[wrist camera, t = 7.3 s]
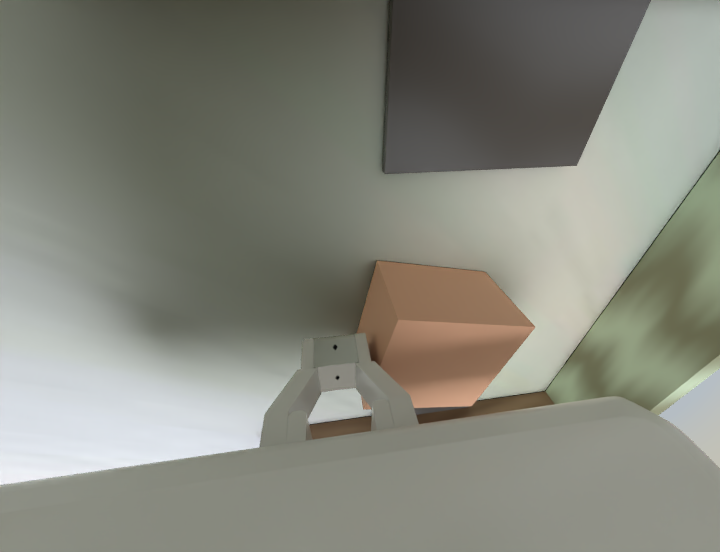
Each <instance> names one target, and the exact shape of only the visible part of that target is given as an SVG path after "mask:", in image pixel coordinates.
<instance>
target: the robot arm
mask: <svg viewBox="0 0 720 552" xmlns="http://www.w3.org/2000/svg"><path fill="white" fill-rule="evenodd" d="M349 388H356V389H357V391H358V392H359V393H360V394H361V396H362V397H363V398H364V400H365V401H366V402H367V403H368V405H369V406H370V407H371V409H372V421H371V431H369V432H362V433H355V434H348V435H342V436H335V437H328V438H321V439H314V440H312V436H311V431H310V427H309V422H308V417H309V415H310V414H311V412H312V410H313V408H314V406H315V404H316V402H317V400H318V398H319V396H320V395H321V392H326V391H332V390H339V389H349ZM0 552H720V468H719V467H718V466H717V465H716V464H715V463H714V462H713V461H712V460H711V459H710V458H709V457H708V456H707V455H706V454H705V453H704V452H703V451H702V450H701V449H700V448H699V447H698V446H697V445H696V444H695V443H694V442H693V441H692V440H691V439H690V438H689V437H688V436H687V435H685V434H684V433H683V432H682V431H681V430H680V429H678V428H677V427H676V426H675V425H673V424H672V423H670V422H669V421H667V420H665V419H663V418H662V417H660V416H658V415H656V414H654V413H652V412H651V411H649V410H647V409H645V408H643V407H641V406H639V405H637V404H635V403H633V402H631V401H629V400H627V399H625V398H622V397H617V396H610V397H602V398H595V399H588V400H581V401H575V402H568V403H561V404H554V405H547V406H540V407H534V408H527V409H520V410H513V411H506V412H499V413H493V414H486V415H479V416H472V417H465V418H458V419H451V420H445V421H438V422H431V423H424V424H419V423H418V420H417V416H416V413H415V410H414V407H413V403H412V400H411V397H410V395H409V394H408V393H407V392H406V391H405V390H404V389H403V388H402V387H401V386H400V385H399V384H398V383H397V382H396V381H395V380H394V379H393V378H392V377H391V376H390V375H388V374H387V373H386V372H385V371H384V370H383V369H382V368H381V367H380V366H379V365H378V364H377V363H376V362H375V361H371V357H370V352H369V348H368V343H367V338H366V334H365V333H358V334H348V335H339V336H333V337H320V338H309V339H303V341H302V356H301V369H300V370H297V371H296V373H295V374H294V375H293V377H292V378H291V379H290V381H289V382H288V383H287V385H286V386H285V387H284V389H283V390H282V391H281V393H280V394H279V396H278V397H277V398H276V400H275V401H274V402H273V404H272V405H271V406H270V408H269V409H268V410H267V412H266V413H265V416H264V422H263V428H262V434H261V441H260V447H259V448H253V449H246V450H239V451H232V452H225V453H218V454H212V455H205V456H198V457H191V458H184V459H177V460H170V461H163V462H157V463H150V464H143V465H136V466H129V467H122V468H115V469H108V470H101V471H95V472H88V473H81V474H74V475H67V476H60V477H53V478H46V479H39V480H32V481H25V482H18V483H11V484H4V485H0Z"/></svg>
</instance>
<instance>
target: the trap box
mask: <svg viewBox="0 0 720 552" xmlns="http://www.w3.org/2000/svg"><path fill="white" fill-rule="evenodd" d="M650 1H651V0H390V15H389V38H388V61H387V84H386V108H385V131H384V154H383V172H384V173H385V174H395V173H418V172H442V171H465V170H488V169H511V168H534V167H557V166H577V164H578V162H579V159H580V157H581V155H582V153H583V150H584V148H585V146H586V144H587V141H588V139H589V137H590V135H591V133H592V130H593V128H594V126H595V124H596V121H597V119H598V117H599V115H600V113H601V110H602V108H603V106H604V104H605V101H606V99H607V97H608V95H609V93H610V90H611V88H612V86H613V84H614V81H615V79H616V77H617V75H618V72H619V70H620V68H621V66H622V64H623V61H624V59H625V57H626V55H627V52H628V50H629V48H630V46H631V44H632V41H633V39H634V37H635V35H636V32H637V30H638V28H639V26H640V24H641V21H642V19H643V17H644V15H645V12H646V10H647V8H648V6H649V3H650ZM719 368H720V152H719V153H718V155H717V156H716V158H715V159H714V160H713V162H712V163H711V164H710V166H709V167H708V168H707V170H706V171H705V173H704V174H703V175H702V177H701V178H700V179H699V181H698V182H697V184H696V185H695V186H694V188H693V189H692V190H691V192H690V193H689V195H688V196H687V197H686V199H685V200H684V201H683V203H682V204H681V206H680V207H679V208H678V210H677V211H676V212H675V214H674V215H673V217H672V218H671V219H670V221H669V222H668V223H667V225H666V226H665V228H664V229H663V230H662V232H661V233H660V234H659V236H658V237H657V239H656V240H655V241H654V243H653V244H652V245H651V247H650V248H649V250H648V251H647V252H646V254H645V255H644V256H643V258H642V259H641V261H640V262H639V263H638V265H637V266H636V267H635V269H634V270H633V272H632V273H631V274H630V276H629V277H628V278H627V280H626V281H625V283H624V284H623V285H622V287H621V288H620V289H619V291H618V292H617V293H616V295H615V296H614V298H613V299H612V300H611V302H610V303H609V304H608V306H607V307H606V309H605V310H604V311H603V313H602V314H601V315H600V317H599V318H598V320H597V321H596V322H595V324H594V325H593V326H592V328H591V329H590V331H589V332H588V333H587V335H586V336H585V337H584V339H583V340H582V342H581V343H580V344H579V346H578V347H577V348H576V350H575V351H574V353H573V354H572V355H571V357H570V358H569V359H568V361H567V362H566V364H565V365H564V366H563V368H562V369H561V370H560V372H559V373H558V375H557V376H556V377H555V379H554V380H553V381H552V383H551V384H550V386H549V387H548V388H547V390H546V391H544V392H537V393H530V394H523V395H516V396H509V397H502V398H495V399H488V400H481V401H476V402H475V403H474V404H473V405H472V406H462V407H429V408H414V410H415V413H416V416H417V420H418V423H419V424H424V423H431V422H438V421H445V420H451V419H458V418H465V417H472V416H479V415H486V414H493V413H499V412H506V411H513V410H520V409H527V408H534V407H540V406H547V405H554V404H561V403H568V402H575V401H581V400H588V399H595V398H602V397H610V396H617V397H622V398H625V399H627V400H629V401H631V402H633V403H635V404H637V405H639V406H641V407H643V408H645V409H647V410H649V411H651V412H652V413H654V414H656V415H659V414H661V413H662V412H663V411H664V410H666V409H667V408H669V407H670V406H671V405H672V404H674V403H675V402H676V401H678V400H679V399H680V398H681V397H683V396H684V395H685V394H687V393H688V392H689V391H691V390H692V389H693V388H695V387H696V386H697V385H699V384H700V383H701V382H702V381H704V380H705V379H706V378H708V377H709V376H710V375H711V374H713V373H714V372H715V371H717V370H718V369H719ZM371 421H372V416H369V417H362V418H355V419H348V420H341V421H334V422H327V423H320V424H313V425H309V427H310V431H311V436H312V440H314V439H321V438H328V437H335V436H342V435H348V434H355V433H362V432H369V431H371Z"/></svg>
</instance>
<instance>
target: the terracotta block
mask: <svg viewBox="0 0 720 552" xmlns="http://www.w3.org/2000/svg"><path fill="white" fill-rule="evenodd" d="M534 328H535V326H534V325H533V324H532V323H531V322H530V321H529V320H528V318H527V317H526V316H525V315H524V314H523V313H522V312H521V311H520V310H519V309H518V307H517V306H516V305H515V304H514V303H513V302H512V301H511V300H510V299H509V298H508V297H507V295H506V294H505V293H504V292H503V291H502V290H501V289H500V288H499V287H498V286H497V285H496V283H495V282H494V281H493V280H492V279H491V278H490V277H489V276H488V275H487V274H486V272H482V271H472V270H463V269H453V268H444V267H434V266H425V265H415V264H406V263H396V262H387V261H377V262H376V266H375V270H374V273H373V277H372V280H371V284H370V287H369V291H368V294H367V298H366V301H365V305H364V309H363V312H362V316H361V319H360V323H359V326H358V330H357V333H356V334H358V333H365V334H366V338H367V343H368V348H369V352H370V357H371V361H375V362H376V363H377V364H378V365H379V366H380V367H381V368H382V369H383V370H384V371H385V372H386V373H387V374H388V375H390V376H391V377H392V378H393V379H394V380H395V381H396V382H397V383H398V384H399V385H400V386H401V387H402V388H403V389H404V390H405V391H406V392H407V393H408V394H409V395H410V397H411V400H412V403H413V407H414V408H429V407H462V406H472V405H473V404H474V403H475V402H476V400H477V399H478V398H479V397H480V395H481V394H482V393H483V392H484V390H485V389H486V388H487V387H488V385H489V384H490V383H491V382H492V380H493V379H494V378H495V377H496V376H497V374H498V373H499V372H500V371H501V369H502V368H503V367H504V366H505V364H506V363H507V362H508V361H509V359H510V358H511V357H512V356H513V354H514V353H515V352H516V351H517V349H518V348H519V347H520V346H521V344H522V343H523V342H524V341H525V339H526V338H527V337H528V336H529V334H530V333H531V332H532V331H533V330H534ZM361 398H362V405H363V409H371V407H370V406H369V405H368V403H367V402H366V401H365V400H364V398H363V397H362V396H361Z"/></svg>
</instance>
